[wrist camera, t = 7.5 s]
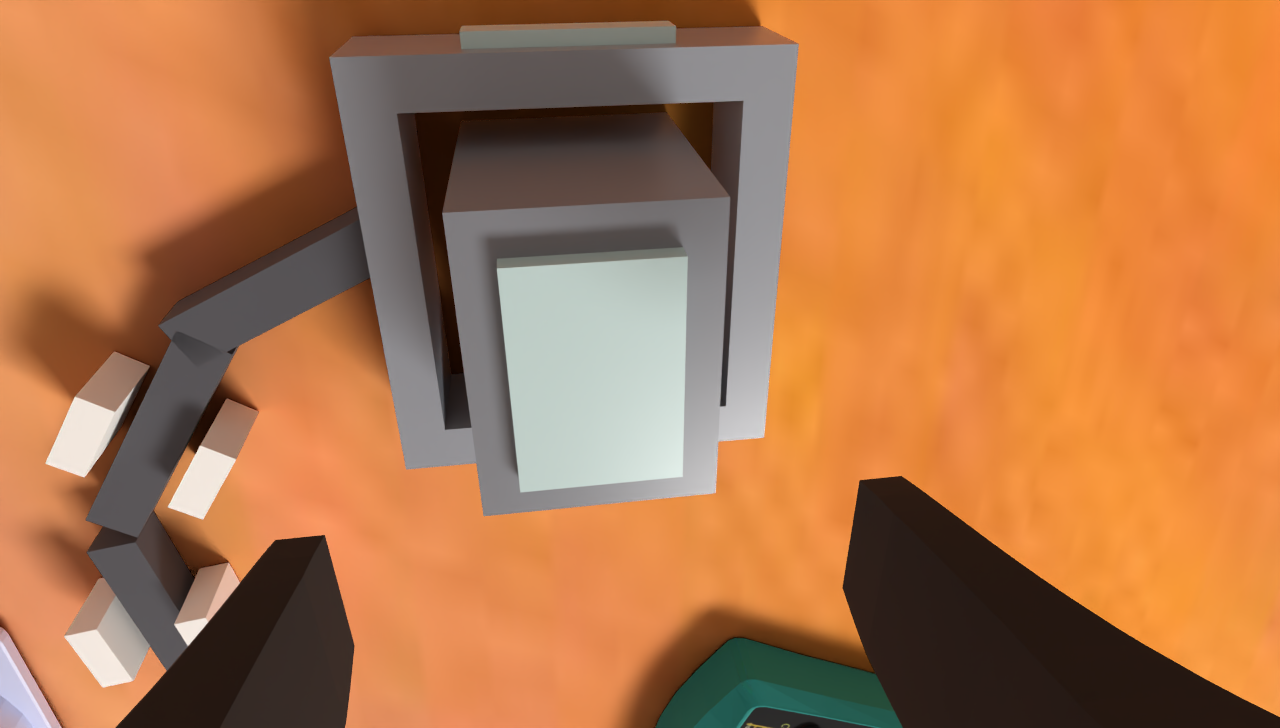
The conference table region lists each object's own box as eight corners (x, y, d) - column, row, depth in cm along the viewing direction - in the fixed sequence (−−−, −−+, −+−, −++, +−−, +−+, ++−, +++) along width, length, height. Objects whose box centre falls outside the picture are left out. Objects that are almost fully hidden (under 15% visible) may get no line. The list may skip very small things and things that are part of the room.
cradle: (416, 410, 21) (406, 469, 19) (349, 20, 16) (325, 38, 14) (738, 384, 22) (763, 437, 20) (763, 10, 17) (799, 26, 15)
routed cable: (35, 638, 23) (-4, 700, 21) (154, 111, 16) (112, 136, 15) (238, 676, 24) (217, 735, 23) (414, 214, 18) (405, 247, 16)
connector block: (489, 360, 20) (483, 530, 15) (461, 119, 17) (440, 221, 12) (664, 347, 21) (720, 506, 15) (666, 111, 18) (736, 205, 12)
